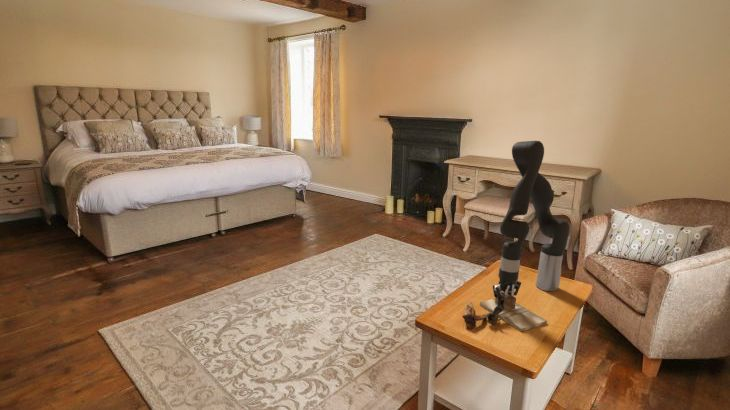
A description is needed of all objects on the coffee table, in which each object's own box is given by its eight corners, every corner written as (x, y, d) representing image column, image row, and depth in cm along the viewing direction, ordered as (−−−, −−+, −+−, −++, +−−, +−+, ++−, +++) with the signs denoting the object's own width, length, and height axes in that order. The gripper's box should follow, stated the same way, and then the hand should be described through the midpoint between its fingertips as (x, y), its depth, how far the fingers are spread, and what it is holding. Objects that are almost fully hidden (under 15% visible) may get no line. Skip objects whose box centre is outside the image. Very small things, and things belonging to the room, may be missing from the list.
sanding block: (501, 301, 167) (503, 290, 166) (514, 309, 161) (516, 298, 160) (494, 303, 165) (496, 292, 164) (507, 311, 159) (509, 300, 158)
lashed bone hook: (486, 334, 146) (484, 309, 163) (488, 323, 145) (486, 299, 162) (460, 329, 148) (461, 305, 165) (462, 318, 147) (463, 295, 164)
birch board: (504, 298, 172) (504, 295, 172) (546, 323, 154) (547, 320, 153) (479, 304, 166) (479, 302, 166) (521, 331, 147) (521, 328, 147)
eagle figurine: (508, 326, 148) (508, 311, 156) (499, 311, 147) (499, 297, 155) (489, 331, 152) (490, 316, 160) (480, 317, 151) (481, 302, 158)
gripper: (515, 261, 165) (509, 298, 170) (489, 267, 159) (484, 305, 163) (529, 268, 159) (523, 306, 163) (503, 274, 152) (498, 314, 157)
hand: (504, 305), depth 163 cm, fingers closed on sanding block, 4 cm apart
